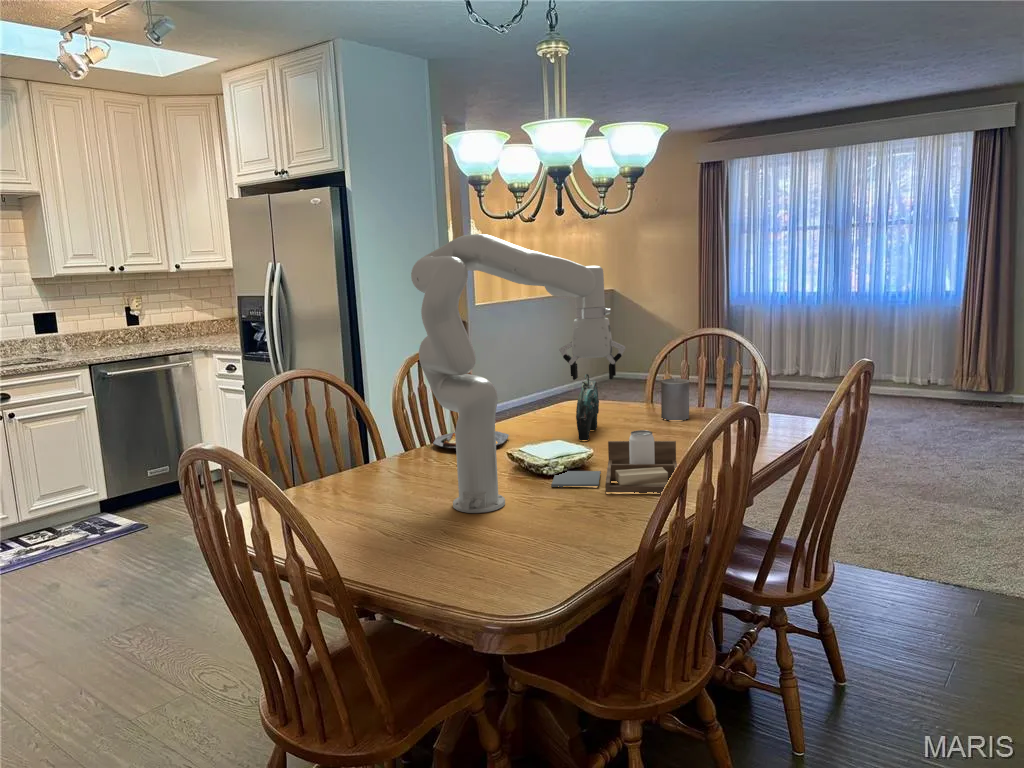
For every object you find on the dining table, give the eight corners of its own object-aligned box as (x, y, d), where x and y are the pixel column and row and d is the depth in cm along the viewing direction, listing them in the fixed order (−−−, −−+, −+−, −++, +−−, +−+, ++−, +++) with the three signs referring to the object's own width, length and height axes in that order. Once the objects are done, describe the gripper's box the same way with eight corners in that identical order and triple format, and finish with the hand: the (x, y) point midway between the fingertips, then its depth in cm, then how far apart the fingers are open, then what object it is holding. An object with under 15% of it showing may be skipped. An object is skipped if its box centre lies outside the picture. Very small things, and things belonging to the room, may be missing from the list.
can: (654, 480, 195) (654, 435, 193) (629, 480, 196) (628, 435, 194) (655, 473, 201) (654, 429, 199) (630, 473, 203) (629, 429, 201)
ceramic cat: (584, 427, 259) (583, 370, 255) (603, 428, 257) (601, 370, 254) (573, 441, 240) (571, 379, 237) (593, 442, 238) (591, 379, 235)
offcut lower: (668, 493, 186) (668, 483, 186) (619, 493, 187) (618, 484, 187) (665, 487, 191) (665, 477, 191) (618, 487, 192) (617, 478, 192)
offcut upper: (667, 482, 187) (667, 472, 186) (620, 485, 186) (620, 475, 185) (662, 476, 192) (662, 467, 191) (615, 479, 191) (615, 470, 190)
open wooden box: (680, 494, 183) (680, 463, 181) (605, 494, 186) (604, 463, 184) (675, 469, 204) (675, 440, 203) (609, 469, 207) (608, 441, 206)
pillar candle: (657, 416, 270) (657, 375, 268) (684, 415, 271) (683, 373, 269) (666, 423, 261) (665, 380, 258) (693, 421, 262) (693, 378, 259)
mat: (598, 488, 191) (598, 484, 191) (551, 487, 193) (551, 484, 193) (600, 474, 203) (600, 471, 202) (556, 474, 205) (556, 471, 204)
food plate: (499, 454, 228) (498, 442, 228) (425, 454, 233) (424, 443, 232) (514, 436, 253) (513, 426, 252) (447, 437, 257) (446, 427, 257)
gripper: (625, 311, 197) (628, 375, 200) (561, 313, 202) (564, 376, 205) (621, 314, 190) (624, 381, 193) (554, 316, 195) (558, 381, 198)
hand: (593, 378), depth 199 cm, fingers open, 9 cm apart
